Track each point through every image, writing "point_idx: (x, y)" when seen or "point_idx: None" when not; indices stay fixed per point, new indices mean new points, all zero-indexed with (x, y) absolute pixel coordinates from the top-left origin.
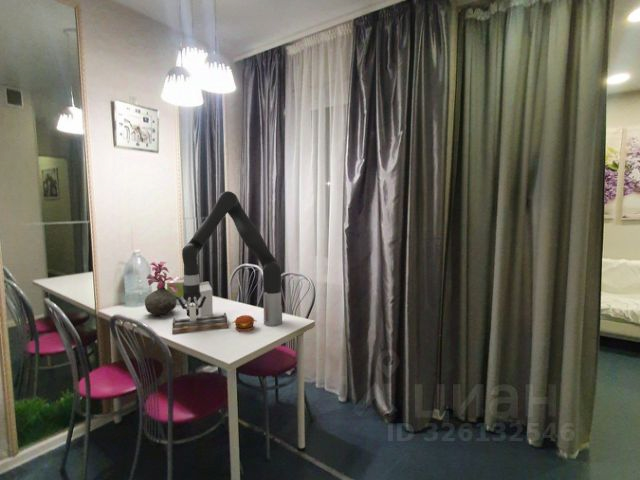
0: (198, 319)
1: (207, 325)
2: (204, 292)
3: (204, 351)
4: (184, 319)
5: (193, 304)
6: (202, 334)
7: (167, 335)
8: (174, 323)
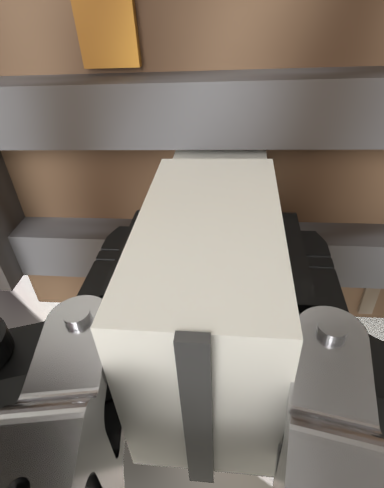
0: (303, 142)
1: (369, 314)
2: None
3: (272, 483)
4: (88, 133)
5: (224, 341)
6: None
7: (26, 286)
8: (15, 283)
